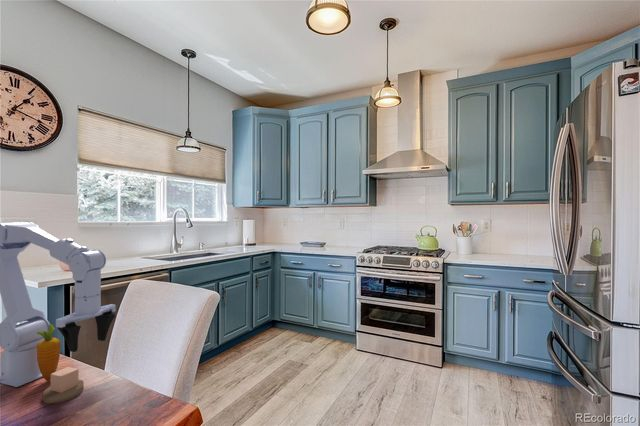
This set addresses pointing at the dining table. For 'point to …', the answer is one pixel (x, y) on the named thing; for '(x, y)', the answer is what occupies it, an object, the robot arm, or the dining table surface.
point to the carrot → (48, 353)
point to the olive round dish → (57, 397)
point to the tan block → (64, 379)
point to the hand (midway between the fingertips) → (88, 345)
